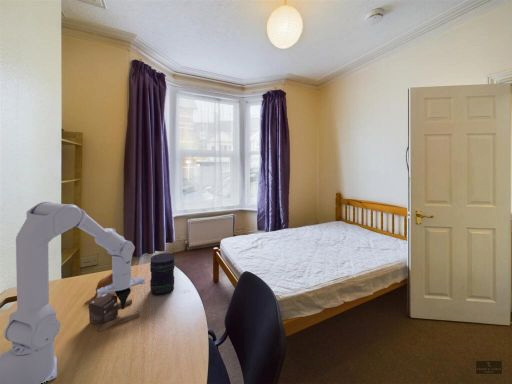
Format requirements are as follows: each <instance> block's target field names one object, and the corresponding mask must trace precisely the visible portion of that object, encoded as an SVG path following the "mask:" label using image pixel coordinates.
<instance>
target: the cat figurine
mask: <svg viewBox="0 0 512 384" xmlns="http://www.w3.org/2000/svg"><path fill="white" fill-rule="evenodd" d="M111 284H113V272H112V273H110V274H108V275H107V276H105V277H103V278H101V279H100V280H99V281H98V282H97V285H96V288H95V291H96V292H95V294H94V296H93V297H92V298H90V299H88V300H87V301H85V302H84V305H86V304H89V302H91V301H93V300H94V299H96V298H97V297H98V295H97V290H98V289H101V288H104V287H106V286H108V285H111ZM108 294H109V295H113V294H111V293H108Z"/></svg>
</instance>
